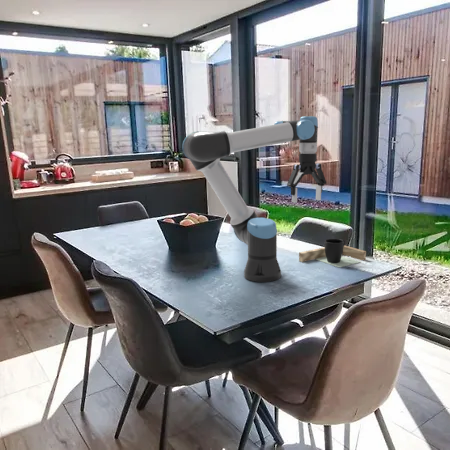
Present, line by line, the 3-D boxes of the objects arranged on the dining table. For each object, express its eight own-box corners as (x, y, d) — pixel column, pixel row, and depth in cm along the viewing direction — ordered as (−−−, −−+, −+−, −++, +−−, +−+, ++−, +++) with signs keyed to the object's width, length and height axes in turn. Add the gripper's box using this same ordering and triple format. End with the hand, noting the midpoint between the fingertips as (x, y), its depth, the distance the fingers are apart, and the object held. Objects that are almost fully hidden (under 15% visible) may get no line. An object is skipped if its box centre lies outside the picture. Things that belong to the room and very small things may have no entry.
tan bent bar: (323, 269, 183) (323, 260, 183) (299, 260, 197) (299, 252, 196) (365, 259, 196) (365, 251, 195) (339, 252, 209) (340, 244, 209)
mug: (351, 259, 196) (352, 239, 194) (336, 265, 188) (336, 244, 186) (336, 256, 202) (336, 236, 200) (320, 261, 194) (320, 241, 192)
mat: (338, 267, 186) (338, 266, 186) (315, 259, 199) (315, 258, 198) (360, 262, 192) (360, 261, 192) (336, 254, 205) (336, 254, 205)
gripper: (290, 153, 178) (289, 204, 183) (335, 152, 190) (333, 200, 194) (279, 153, 185) (278, 202, 189) (323, 151, 197) (322, 198, 201)
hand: (306, 201), depth 192 cm, fingers open, 13 cm apart
